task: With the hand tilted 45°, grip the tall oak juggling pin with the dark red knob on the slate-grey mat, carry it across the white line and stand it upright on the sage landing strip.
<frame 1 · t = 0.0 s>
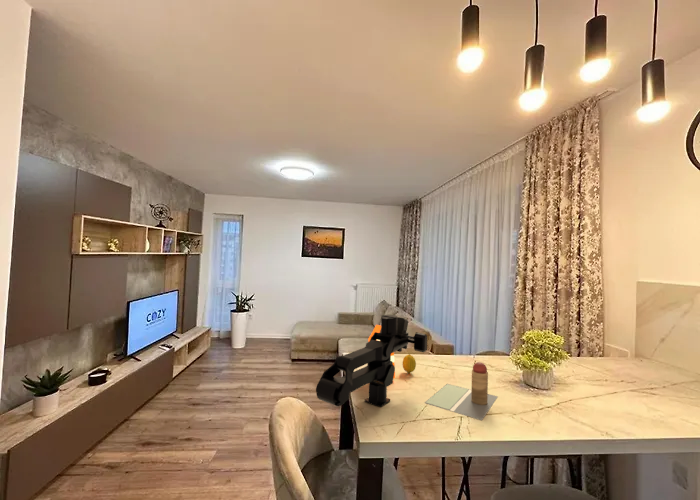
hand: (412, 334, 126), 18 cm above the table, tool horizontal, fingers open, 8 cm apart
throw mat: (462, 401, 108), on the table
orange juice: (382, 376, 128), on the table, touching gripper
lemon: (408, 374, 134), on the table
juggling pin: (479, 401, 107), point 1 cm above the table, touching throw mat
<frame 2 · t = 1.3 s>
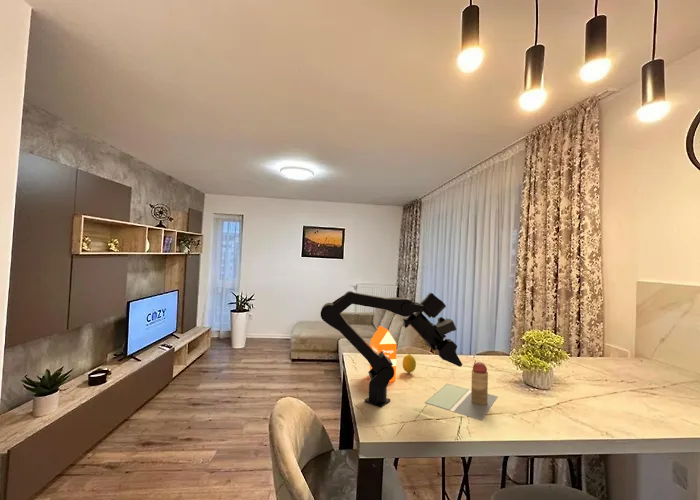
hand: (456, 361, 107), 14 cm above the table, tool tilted 45°, fingers open, 9 cm apart
orange juice: (382, 378, 127), on the table
everything else where it was.
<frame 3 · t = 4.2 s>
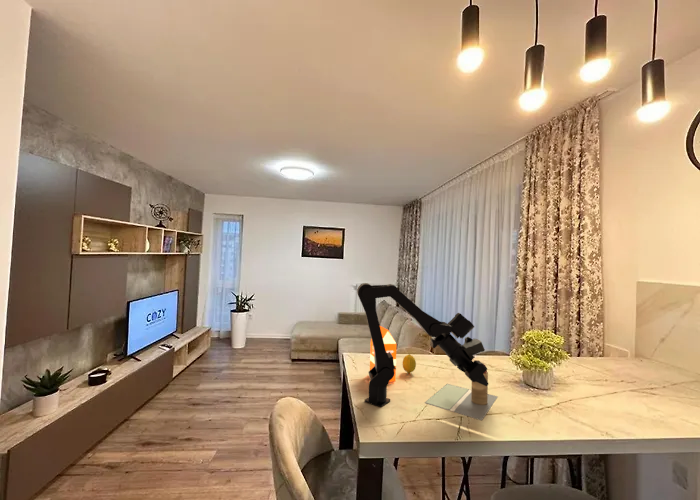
hand: (483, 382, 107), 7 cm above the table, tool tilted 45°, fingers closed on juggling pin, 5 cm apart
juggling pin: (479, 401, 107), point 1 cm above the table, touching gripper, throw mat
everything else where it was.
when the fingers open (8 cm above the table, at t = 7.9 s): juggling pin drops 1 cm, resting on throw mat.
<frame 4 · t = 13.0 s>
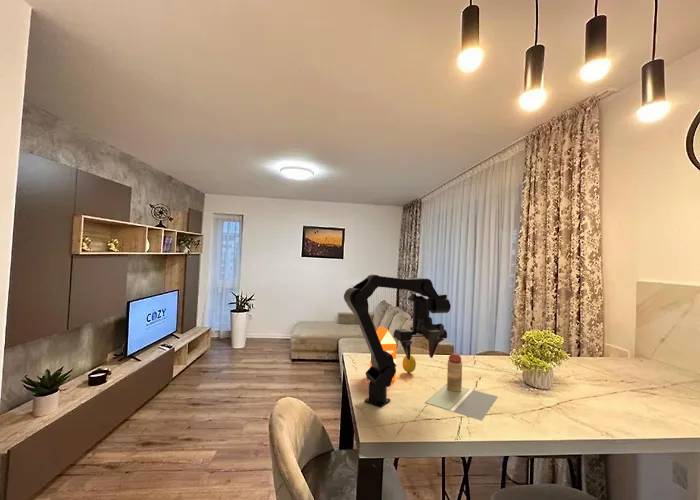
hand: (420, 358, 111), 13 cm above the table, tool pointing down, fingers open, 9 cm apart
juggling pin: (454, 389, 116), point 1 cm above the table, touching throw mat
everything else where it was.
at the end: juggling pin inside the target area (0.8 cm from its centre), point 0.7 cm above the table; juggling pin tilted 1°; the gripper is holding nothing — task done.
